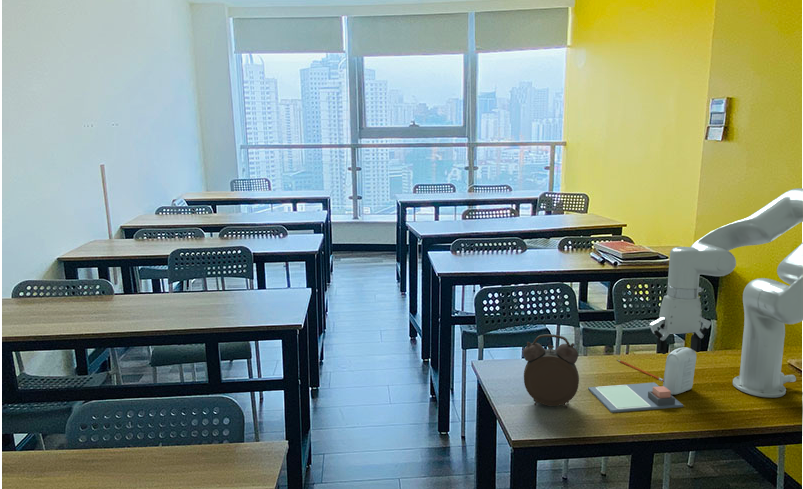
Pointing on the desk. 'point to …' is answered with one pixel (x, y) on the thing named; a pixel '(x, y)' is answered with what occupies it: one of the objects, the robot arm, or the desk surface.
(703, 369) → the desk surface
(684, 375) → the photo printer
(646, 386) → the activity board
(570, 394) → the alarm clock
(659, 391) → the button
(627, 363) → the pencil
